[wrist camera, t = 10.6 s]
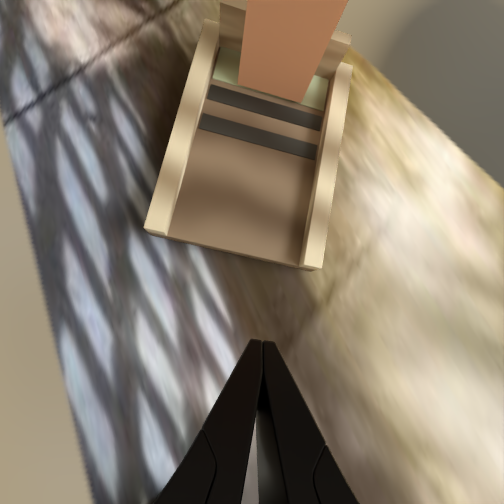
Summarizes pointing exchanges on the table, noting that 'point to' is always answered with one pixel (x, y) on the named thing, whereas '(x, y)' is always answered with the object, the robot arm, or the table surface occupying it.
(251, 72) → the tall block
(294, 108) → the open-ended rail tray
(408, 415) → the table surface
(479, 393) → the table surface
